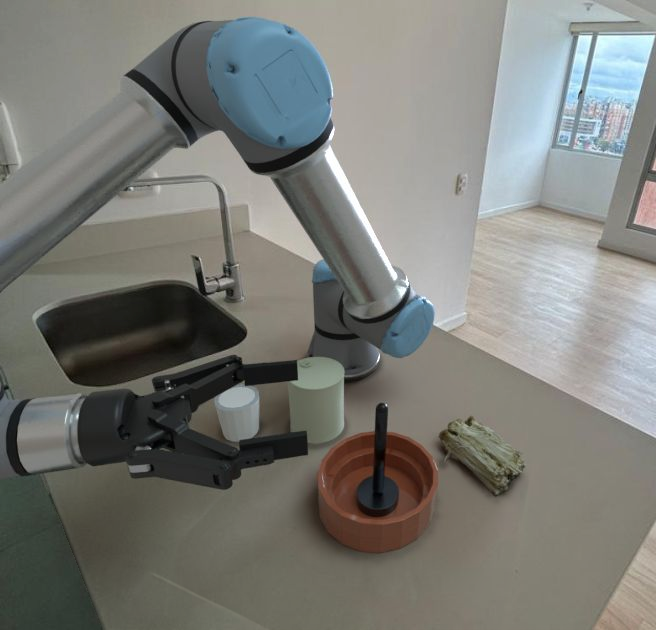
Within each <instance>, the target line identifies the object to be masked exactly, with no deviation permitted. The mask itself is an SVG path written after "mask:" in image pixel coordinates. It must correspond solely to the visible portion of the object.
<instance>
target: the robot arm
mask: <svg viewBox="0 0 656 630" xmlns="http://www.w3.org/2000/svg"><path fill="white" fill-rule="evenodd" d="M119 88H120V90H119V93H118V94H116V95H115V96H113V97H112V98H111V99H109V100H108V101H107V102H105V103H104V104H103V105H102V106H100V107H99V108H97V109H96V110H95V111H94V112H92V113H91V114H90V115H88V116H87V117H86V118H85V119H83V120H81V122H79V123H78V124H77V125H75V126H74V127H73V128H72V129H70V130H68V131H67V132H66V133H65V134H64V135H62V136H61V137H60V138H59V139H57V140H56V141H54V142H53V143H52V144H50V145H49V146H48V147H46V148H45V149H44V150H43V151H41V152H40V153H38V154H37V155H36V156H35V157H33V158H31V160H30V161H28V162H27V163H26V164H24V165H23V166H21V167H20V168H19V169H17V170H16V171H15V172H14V173H12V174H11V175H10V176H8V177H6V179H4V180H3V181H2V182H0V294H1V293H2V292H3V291H4V290H5V289H6V288H8V286H10V285H11V284H12V283H13V282H15V281H16V280H17V279H18V278H19V277H21V276H22V275H23V274H24V273H26V271H28V270H29V269H31V267H33V266H34V265H35V264H36V263H37V262H39V261H40V260H41V259H42V258H43V257H44V256H46V255H47V254H48V253H50V251H52V250H53V249H54V248H55V247H57V246H58V245H59V244H60V243H62V242H63V241H64V240H65V239H66V238H67V237H69V236H70V235H71V234H73V232H75V230H77V229H78V228H79V227H81V226H82V225H83V224H84V223H86V222H87V221H88V220H89V219H91V218H92V217H93V216H94V215H95V214H96V213H97V212H98V211H100V210H101V209H102V208H104V207H105V206H106V205H108V203H110V202H111V201H112V200H113V199H114V198H116V197H117V196H118V195H119V194H120V193H122V192H123V191H124V190H125V189H126V188H128V187H129V186H130V185H131V184H132V183H133V182H135V181H136V180H137V179H138V178H140V177H141V176H142V175H143V174H144V173H146V172H147V171H148V170H150V168H152V167H153V166H154V165H155V164H157V163H158V162H159V161H160V160H162V158H164V157H165V156H167V154H169V153H170V152H171V151H172V150H173V149H184V150H187V149H189V148H190V147H191V146H193V145H194V144H195V143H196V142H197V141H199V140H200V139H201V138H204V137H205V136H207V135H210V134H213V133H215V132H218V131H221V132H223V134H224V135H225V136H226V137H227V139H229V142H230V144H232V146H233V148H234V149H235V150H236V152H237V153H238V154H239V156H240V157H241V159H242V160H243V162H244V163H245V165H246V166H247V168H248V169H249V171H251V173H253V174H255V175H259V176H263V177H268V178H270V180H271V181H272V183H273V185H274V186H275V187H276V189H277V191H278V192H279V193H280V195H281V196H282V198H283V200H284V201H285V203H286V204H287V205H288V207H289V209H290V210H291V212H292V214H293V215H294V217H295V218H296V219H297V221H298V222H299V224H300V225H301V227H302V229H303V230H304V231H305V233H306V235H307V236H308V238H309V239H310V240H311V242H312V244H313V245H314V247H315V248H316V250H317V251H318V253H319V255H320V257H322V259H320V260H318V261H316V263H315V264H314V266H313V268H312V279H311V283H312V297H313V298H312V299H313V322H314V330H313V333H312V336H311V339H310V342H309V345H308V349H307V352H306V358H309V357H326V358H331V359H334V360H336V361H338V362H339V363H340V364H341V365H342V366H343V368H344V371H345V373H344V382H351V381H352V382H353V381H358V380H361V379H363V378H367V377H368V376H370V375H371V374H373V373H374V372H375V371H376V370H377V369H378V367H379V364H380V351H381V353H383V354H385V355H388V356H390V357H392V358H395V359H403V358H405V357H409V356H410V355H412V354H414V353H415V352H416V351H418V350H419V348H421V346H422V345H423V344H424V343H425V342H426V340H427V338H428V336H429V335H430V332H431V330H432V329H433V326H434V322H435V315H436V313H435V312H436V311H435V307H434V303H432V302H431V301H430V299H427V297H426V296H424V295H419V294H418V293H416V291H414V288H413V287H412V285H411V283H410V281H409V278H408V276H407V274H406V273H405V272H404V269H403V270H402V268H400V267H398V266H396V265H393V264H391V262H390V261H389V259H388V257H387V255H386V253H385V251H384V249H383V246H382V245H381V243H380V241H379V239H378V238H377V235H376V233H375V231H374V229H373V227H372V226H371V223H370V222H369V220H368V217H367V216H366V213H365V212H364V209H363V208H362V206H361V204H360V201H359V200H358V198H357V196H356V193H355V192H354V190H353V188H352V185H351V183H350V182H349V180H348V177H347V176H346V174H345V171H344V170H343V168H342V165H341V164H340V162H339V160H338V158H337V155H336V154H335V152H334V150H333V148H332V146H331V142H332V140H333V136H334V133H335V124H334V122H333V120H332V118H331V117H332V112H333V107H332V106H331V102H332V99H334V88H333V83H332V79H331V75H330V72H329V70H328V67H327V64H326V63H325V60H324V58H323V57H322V55H321V54H320V52H319V51H318V49H317V48H316V47H315V45H314V44H313V43H312V42H311V41H310V40H309V39H308V38H307V37H306V36H305V35H303V33H301V32H300V31H299V30H297V29H295V28H293V27H291V26H289V25H287V24H285V23H283V22H280V21H276V20H270V19H267V18H263V17H256V16H244V17H242V16H241V17H238V18H235V19H227V20H225V19H224V20H203V21H198V22H197V21H196V22H192V23H191V24H188V25H186V26H184V27H182V28H181V29H179V30H177V31H176V32H174V33H173V34H172V35H171V36H169V38H167V39H166V40H165V41H164V42H163V43H161V44H160V45H159V46H158V47H156V48H155V49H154V50H153V51H152V52H151V53H149V55H147V56H146V57H145V58H144V59H142V60H141V61H140V62H139V63H137V65H135V66H134V67H132V68H131V70H128V72H126V73H125V74H124V75H122V76H121V77H120V78H119ZM379 350H380V351H379ZM297 361H298V359H292V360H281V361H270V362H267V361H266V362H256V363H243V357H241V356H238V355H237V354H230V355H226V356H224V357H220V358H218V359H214V360H212V361H209V362H206V363H202V364H199V365H197V366H193V367H190V368H187V369H183V370H181V371H178V372H175V373H170V374H163V375H157V376H154V377H152V378H151V384H152V388H153V391H152V392H151V393H148V394H144V395H138V394H136V393H135V392H134V391H132V389H129V388H117V389H107V390H98V391H97V390H96V391H92V392H91V393H89V394H88V395H87V394H86V393H83V392H74V393H67V394H66V393H65V394H58V395H48V396H40V397H34V398H33V397H32V398H20V399H8V397H7V394H6V391H5V388H4V385H3V382H2V381H0V481H1V480H6V479H7V480H8V479H12V478H20V477H28V476H36V475H40V474H48V473H55V472H62V471H69V470H74V469H81V468H84V467H85V466H86V465H89V466H90V467H100V466H107V465H113V464H120V463H126V465H127V469H128V472H129V475H130V478H131V479H132V480H133V479H135V480H137V479H148V478H159V479H163V480H169V481H174V482H179V483H185V484H190V485H195V486H200V487H206V488H212V489H215V490H222V491H225V490H226V491H227V490H229V489H231V488H232V487H233V484H234V482H233V481H236V480H239V479H240V478H241V477H242V470H244V469H252V468H256V467H257V468H258V467H263V466H269V465H272V464H274V463H275V461H280V460H285V459H292V458H298V457H303V456H308V455H309V443H308V440H307V430H305V431H298V432H291V431H290V432H286V433H277V434H270V435H264V436H257V437H252V438H250V439H243V440H239V442H238V446H239V447H238V448H239V449H238V448H237V447H235V446H233V445H231V444H228V443H226V442H223V441H222V440H219V439H217V438H214V437H212V436H209V435H207V434H206V433H205V434H204V433H203V432H200V431H197V430H195V429H192V428H190V422H191V421H192V416H193V413H195V412H197V411H198V409H199V407H200V406H202V405H204V404H205V403H207V402H208V401H210V400H212V399H214V398H215V397H216V396H218V395H219V394H221V393H223V392H225V391H227V390H228V389H230V388H232V387H234V386H236V385H240V384H241V383H243V382H244V385H245V386H252V387H253V386H259V385H268V384H277V383H288V381H297V380H298V367H297Z"/></svg>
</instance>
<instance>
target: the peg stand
mask: <svg viewBox="0 0 656 630" xmlns="http://www.w3.org/2000/svg"><path fill="white" fill-rule="evenodd" d="M374 413H375V414H374V415H375V416H374V431H375V436H374V460H373V476H370V477H368V478H366V479H364V480H363V481H362V482H361V483H360V484H359V486H358V488H357V496H356V502H357V506H358V508H359V509H360V510H361V511H362V512H363V513H364V514H366V515H368V516H371V517H383V516H386V515H388V514H390V513H391V512H393V511H394V510H395V508H396V507H397V504H398V499H399V489H398V486H397V484H396V483H395V482H394V481H393V480H392V479H390V478H389V477H386V476H384V475H385V457H386V440H387V432H388V419H389V418H388V417H389V406H388V404H387V403H385V402H378V403H377V404H376V406H375V411H374Z"/></svg>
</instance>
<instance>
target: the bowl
mask: <svg viewBox="0 0 656 630" xmlns="http://www.w3.org/2000/svg"><path fill="white" fill-rule="evenodd" d="M374 436H375V430H373V431H372V430H371V431H364V432H359V433H356V434H353V435H351V436H347V437H345V438H344V439H342V440H341V441H339V442H337V444H335V445H333V446H332V447H331V448H330V449H329V451H328V452H327V453H326V454H325V455H324V457H323V458H322V459H321V461H320V465H319V468H318V472H317V497H318V498H317V503H318V512H319V518H320V520H321V522H322V524H323V526H324V528H325V530H326V532H327V533H328V534H330V536H332V537H333V538H334V539H335V540H336V541H337V542H338V543H340V545H343V546H345V547H348V548H351V549H354V550H355V551H358V552H364V553H373V554H374V553H375V554H382V553H386V552H392V551H396V550H400V549H402V548H404V547H405V546H407V545H410V544H411V543H412V542H415V541H416V540H417V539H418V538H420V536H421V535H422V534H423V533H424V532H425V531H426V530H427V529H428V528H429V526H430V523H431V521H432V520H433V519H432V518H433V517H434V514H435V509H436V502H437V496H438V486H439V470H438V467H437V464H436V462H435V460H434V457H433V456H432V455H431V453H430V452H429V450H427V448H426V447H425V446H424V445H423V444H421V443H420V442H418V441H416V440H414V439H413V438H411V437H409V436H406V435H403V434H400V433H397V432H394V431H387V440H386V457H385V475H384V476H386V477H389V478H390V479H392V480H393V481H394V482H395V483H396V484H397V486H398V489H399V499H398V504H397V507H396V508H395V510H394V511H393V512H391V513H390V514H388V515H386V516H383V517H371V516H368V515H366V514H364V513H363V512H362V511H361V510H360V509H359V508H358V506H357V502H356V496H357V488H358V486H359V484H360V483H361V482H362V481H363V480H364V479H366V478H368V477H370V476H373V460H374Z"/></svg>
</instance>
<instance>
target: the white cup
mask: <svg viewBox="0 0 656 630" xmlns="http://www.w3.org/2000/svg"><path fill="white" fill-rule="evenodd" d="M213 405H214V408H215V411H216V414H217V417H218V421H219V426H220V428H221V432H222V435H223V437H224V438H225V440H227V441H230V442H233V443H239V440H243V439H250V438H254V437H256V435H257V434H258V432H259V430H260V391H259V390H258V389H257V388H256V387H254V386H253V385H252V386H245V384H237V385H236V386H234V387H232V388H230V389H228V390H227V391H225V392H223V393H221V394H219V395H218V396H216V397H214V398H213Z"/></svg>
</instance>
